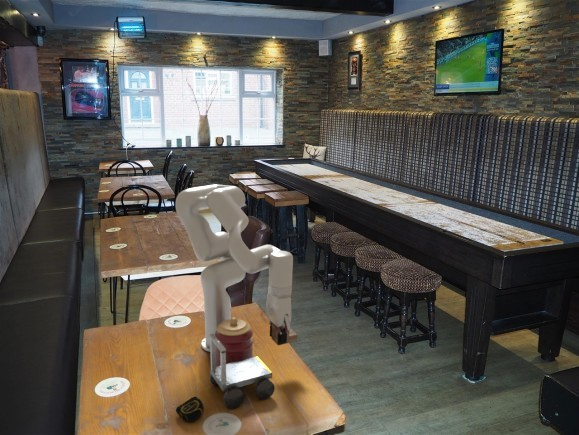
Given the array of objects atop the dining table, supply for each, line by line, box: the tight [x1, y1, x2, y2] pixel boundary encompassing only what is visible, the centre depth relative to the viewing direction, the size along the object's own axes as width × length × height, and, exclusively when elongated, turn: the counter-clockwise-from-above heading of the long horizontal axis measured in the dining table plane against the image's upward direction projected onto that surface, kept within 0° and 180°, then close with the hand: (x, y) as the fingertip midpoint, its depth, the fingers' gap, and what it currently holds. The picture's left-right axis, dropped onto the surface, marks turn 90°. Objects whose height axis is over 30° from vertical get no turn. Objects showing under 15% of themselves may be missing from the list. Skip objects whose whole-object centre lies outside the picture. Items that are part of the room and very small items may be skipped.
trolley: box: [208, 334, 275, 410], centre depth 148 cm, size 14×16×19 cm
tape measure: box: [175, 396, 205, 423], centre depth 137 cm, size 7×7×4 cm
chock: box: [270, 322, 298, 346], centre depth 160 cm, size 5×7×6 cm
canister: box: [215, 316, 254, 367], centre depth 164 cm, size 13×13×18 cm
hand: (278, 339), depth 160 cm, fingers closed on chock, 5 cm apart
